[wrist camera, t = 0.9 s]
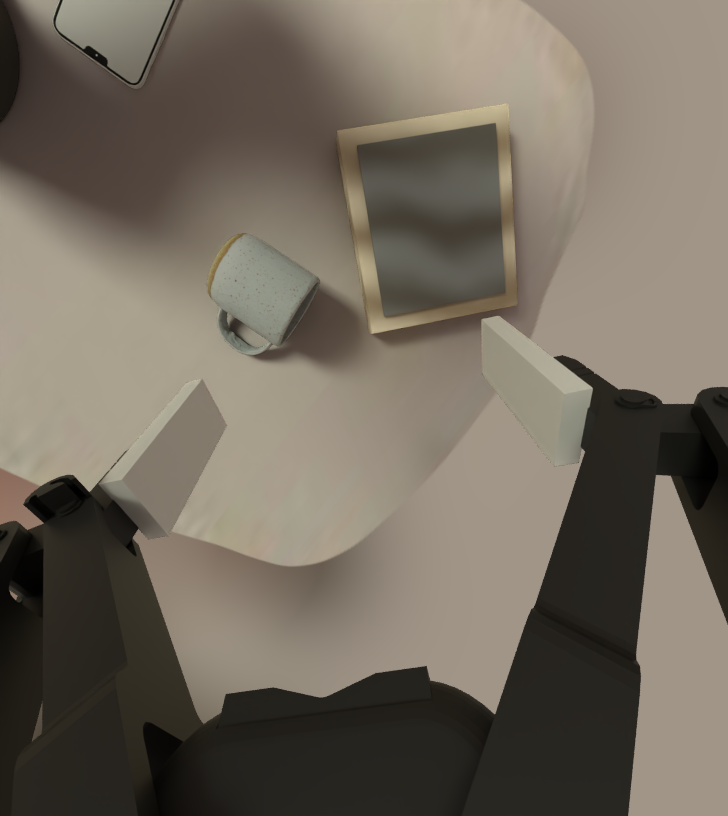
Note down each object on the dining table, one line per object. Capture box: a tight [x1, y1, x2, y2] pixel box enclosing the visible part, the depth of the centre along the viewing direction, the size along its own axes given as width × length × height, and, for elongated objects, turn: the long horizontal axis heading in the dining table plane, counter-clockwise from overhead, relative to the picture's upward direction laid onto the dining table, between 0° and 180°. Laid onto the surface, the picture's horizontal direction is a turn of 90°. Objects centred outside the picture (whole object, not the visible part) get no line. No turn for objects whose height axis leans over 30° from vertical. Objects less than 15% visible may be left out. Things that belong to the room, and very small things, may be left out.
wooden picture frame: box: [336, 103, 518, 334], centre depth 34 cm, size 18×16×3 cm
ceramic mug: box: [207, 233, 320, 355], centre depth 31 cm, size 11×8×8 cm
